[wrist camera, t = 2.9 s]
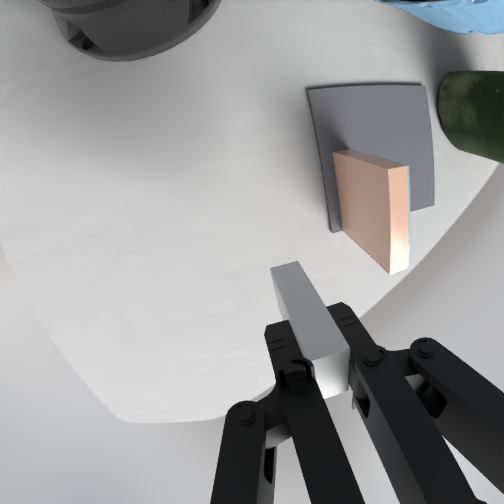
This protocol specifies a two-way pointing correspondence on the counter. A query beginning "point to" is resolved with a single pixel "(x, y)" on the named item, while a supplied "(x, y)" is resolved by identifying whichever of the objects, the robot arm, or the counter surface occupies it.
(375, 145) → the mat
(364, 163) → the tile
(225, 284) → the counter surface
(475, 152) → the green bottle
